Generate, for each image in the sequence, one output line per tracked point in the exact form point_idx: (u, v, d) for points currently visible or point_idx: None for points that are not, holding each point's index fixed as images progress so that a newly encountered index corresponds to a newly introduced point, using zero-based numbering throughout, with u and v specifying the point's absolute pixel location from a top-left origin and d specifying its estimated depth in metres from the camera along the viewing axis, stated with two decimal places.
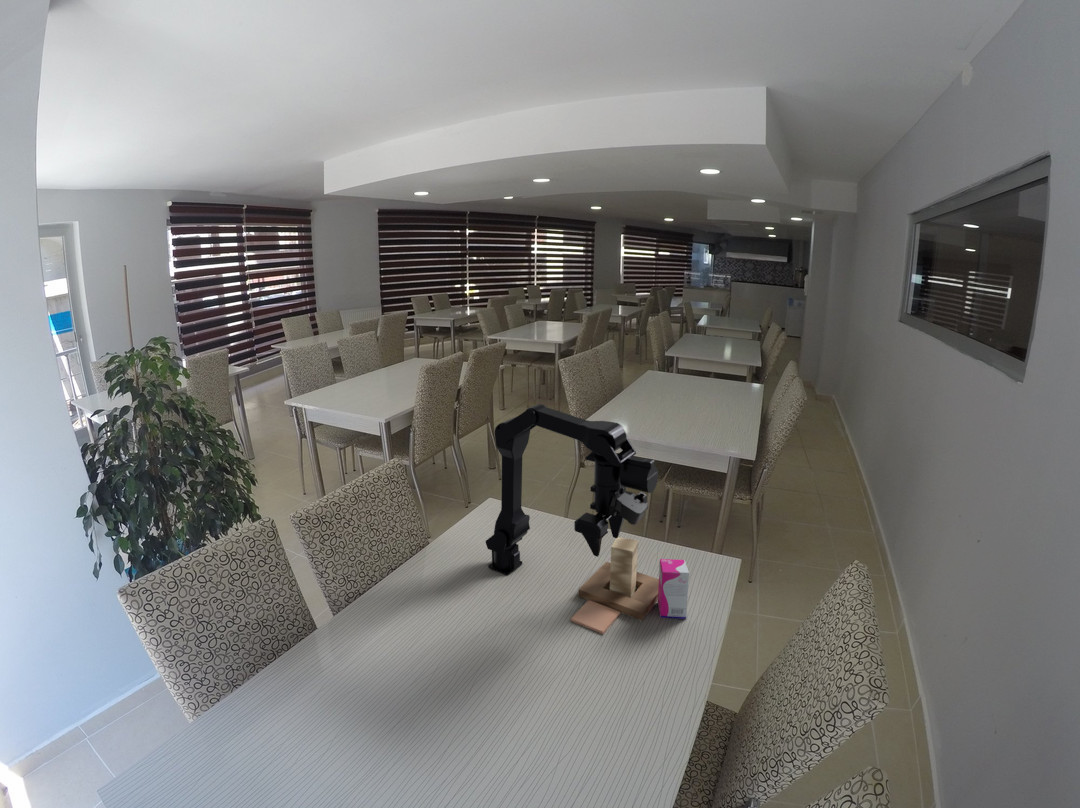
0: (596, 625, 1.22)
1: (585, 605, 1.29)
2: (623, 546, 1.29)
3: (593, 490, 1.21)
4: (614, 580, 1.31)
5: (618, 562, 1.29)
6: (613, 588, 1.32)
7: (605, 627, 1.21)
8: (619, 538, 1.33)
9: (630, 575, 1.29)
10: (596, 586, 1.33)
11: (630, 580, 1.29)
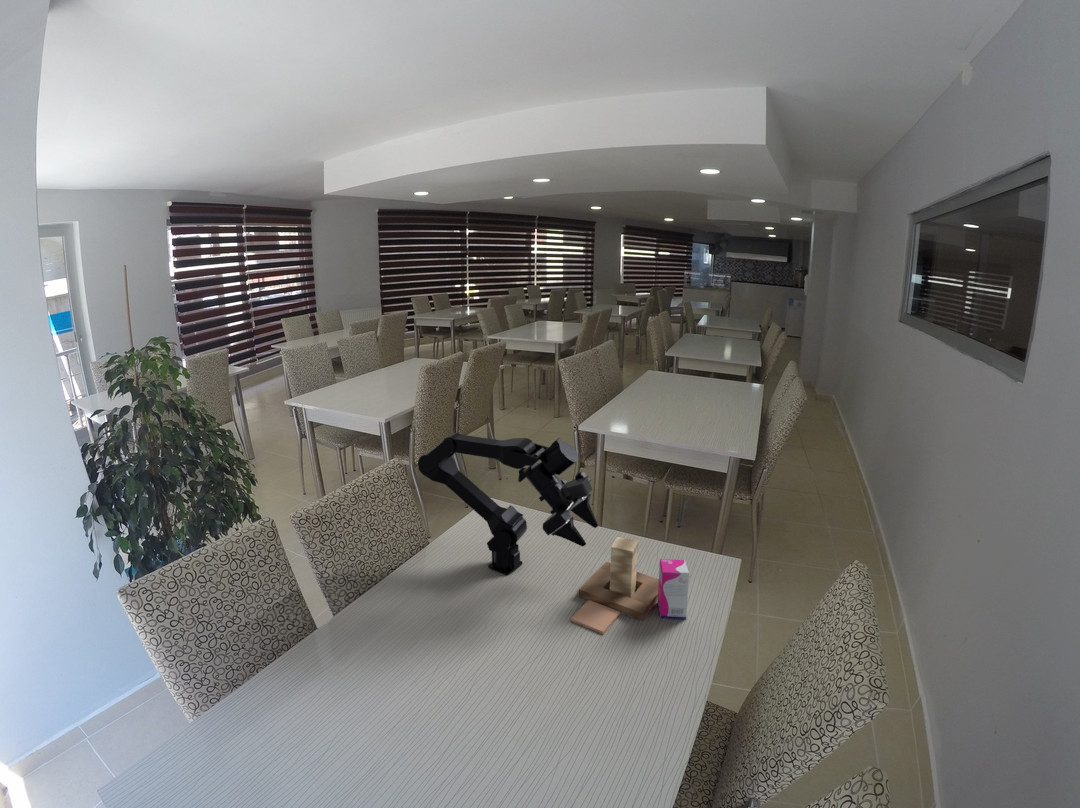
0: (596, 625, 1.22)
1: (585, 605, 1.29)
2: (623, 546, 1.29)
3: (542, 498, 1.33)
4: (614, 580, 1.31)
5: (618, 562, 1.29)
6: (613, 588, 1.32)
7: (605, 627, 1.21)
8: (619, 538, 1.33)
9: (630, 575, 1.29)
10: (596, 586, 1.33)
11: (630, 580, 1.29)
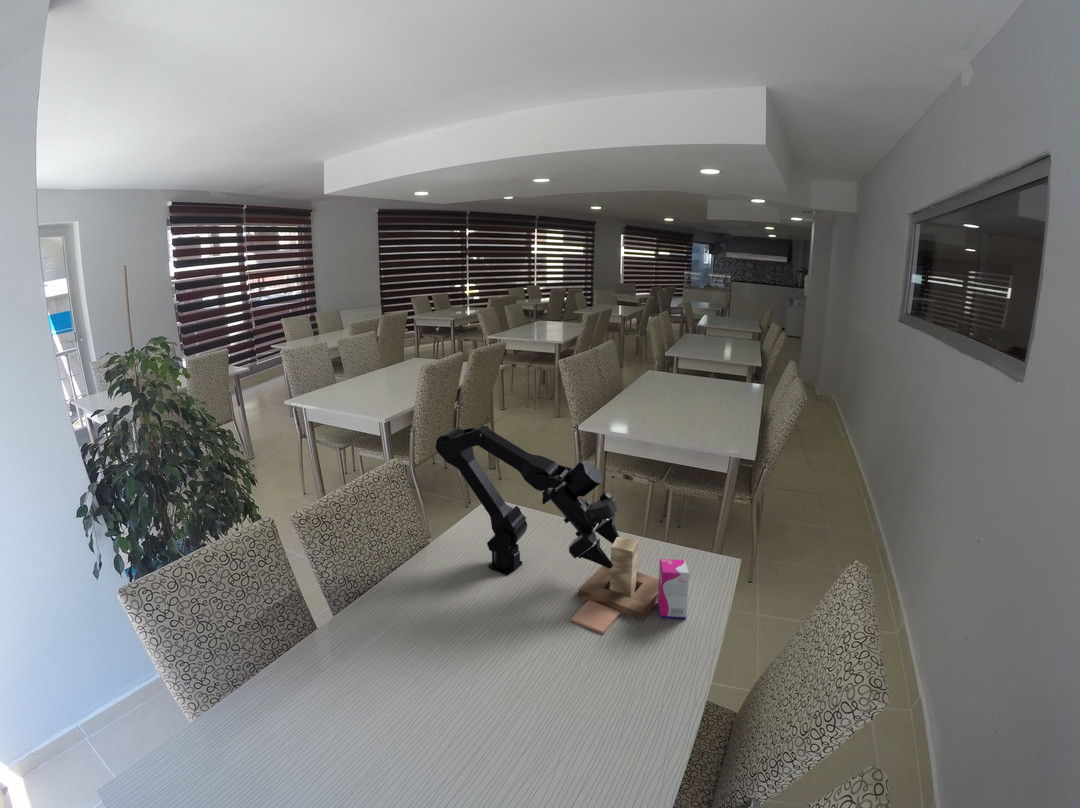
0: (596, 625, 1.22)
1: (585, 605, 1.29)
2: (623, 546, 1.29)
3: (567, 520, 1.32)
4: (614, 580, 1.31)
5: (618, 562, 1.29)
6: (613, 588, 1.32)
7: (605, 627, 1.21)
8: (619, 538, 1.33)
9: (630, 575, 1.29)
10: (596, 586, 1.33)
11: (630, 580, 1.29)
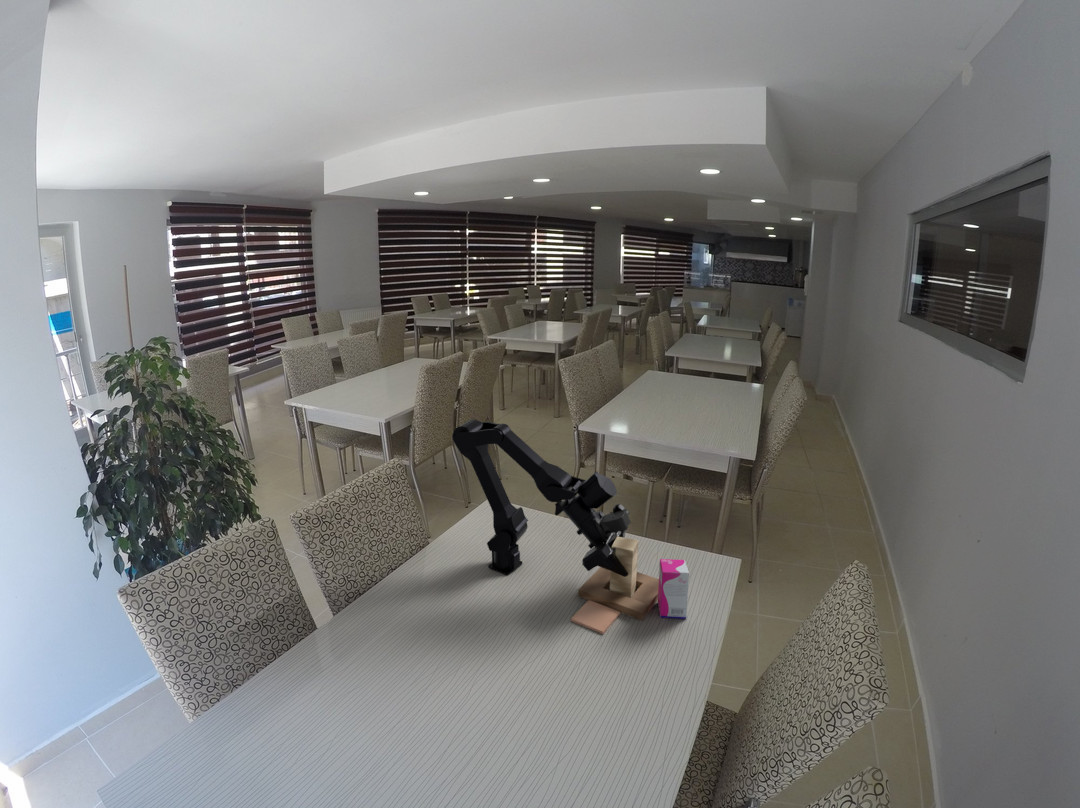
0: (596, 625, 1.22)
1: (585, 605, 1.29)
2: (623, 546, 1.29)
3: (580, 532, 1.31)
4: (614, 580, 1.31)
5: None
6: (613, 588, 1.32)
7: (605, 627, 1.21)
8: (619, 538, 1.33)
9: (630, 575, 1.29)
10: (596, 586, 1.33)
11: (630, 580, 1.30)
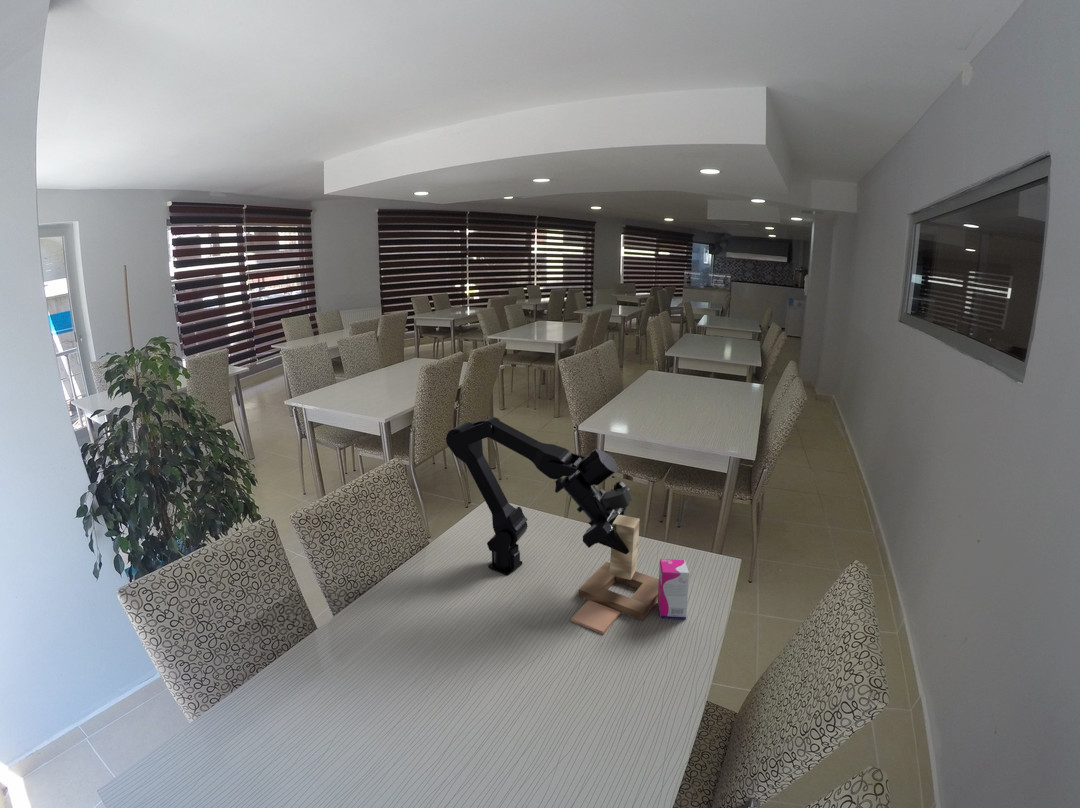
0: (596, 625, 1.22)
1: (585, 605, 1.29)
2: (624, 523, 1.28)
3: (580, 509, 1.30)
4: (615, 558, 1.29)
5: None
6: (613, 566, 1.30)
7: (605, 627, 1.21)
8: (620, 516, 1.31)
9: (631, 553, 1.27)
10: (596, 586, 1.33)
11: (631, 558, 1.28)
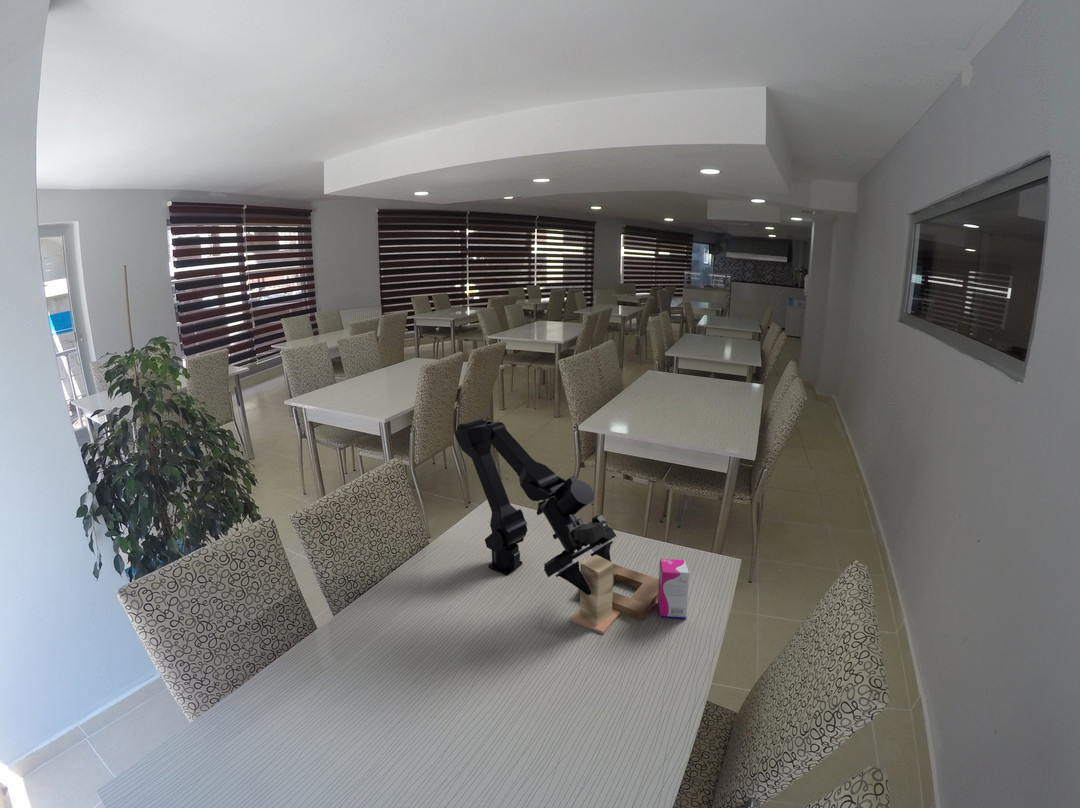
0: (596, 625, 1.22)
1: None
2: (592, 565, 1.21)
3: (555, 536, 1.26)
4: (583, 599, 1.23)
5: (586, 581, 1.21)
6: (582, 607, 1.24)
7: (605, 627, 1.21)
8: (596, 556, 1.24)
9: (596, 597, 1.20)
10: None
11: (596, 603, 1.21)
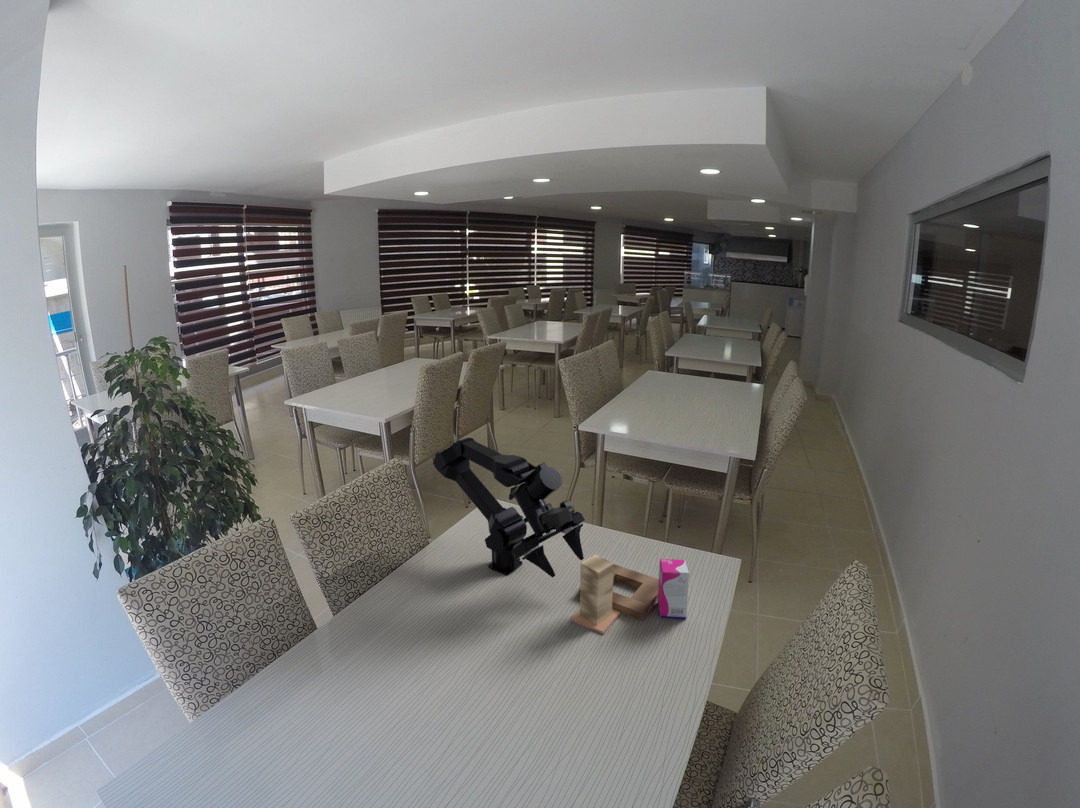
0: (596, 625, 1.22)
1: None
2: (592, 565, 1.21)
3: (525, 520, 1.32)
4: (583, 599, 1.23)
5: (586, 581, 1.21)
6: (582, 607, 1.24)
7: (605, 627, 1.21)
8: (596, 556, 1.24)
9: (596, 597, 1.20)
10: None
11: (596, 603, 1.21)
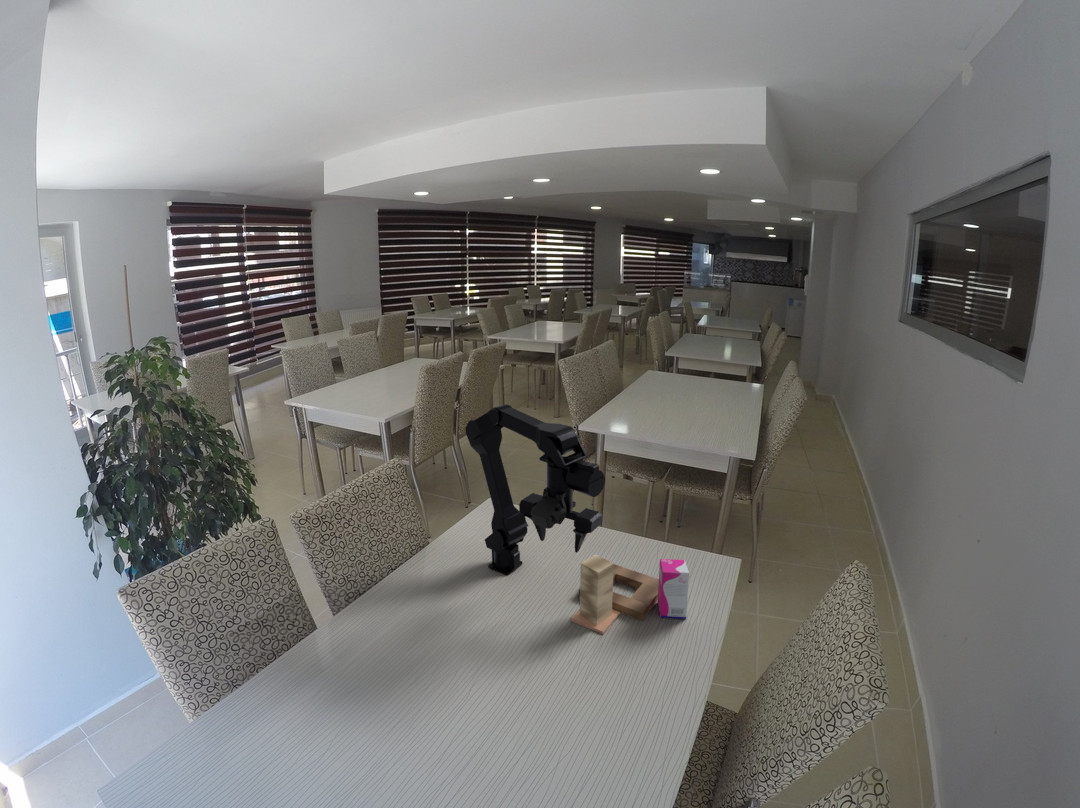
0: (596, 625, 1.22)
1: None
2: (592, 565, 1.21)
3: None
4: (583, 599, 1.23)
5: (586, 581, 1.21)
6: (582, 607, 1.24)
7: (605, 627, 1.21)
8: (596, 556, 1.24)
9: (596, 597, 1.20)
10: None
11: (596, 603, 1.21)
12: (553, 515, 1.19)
